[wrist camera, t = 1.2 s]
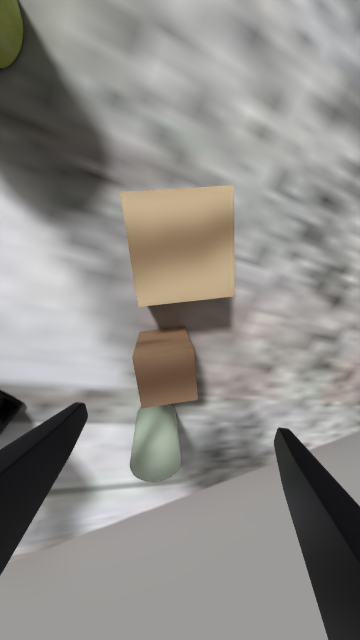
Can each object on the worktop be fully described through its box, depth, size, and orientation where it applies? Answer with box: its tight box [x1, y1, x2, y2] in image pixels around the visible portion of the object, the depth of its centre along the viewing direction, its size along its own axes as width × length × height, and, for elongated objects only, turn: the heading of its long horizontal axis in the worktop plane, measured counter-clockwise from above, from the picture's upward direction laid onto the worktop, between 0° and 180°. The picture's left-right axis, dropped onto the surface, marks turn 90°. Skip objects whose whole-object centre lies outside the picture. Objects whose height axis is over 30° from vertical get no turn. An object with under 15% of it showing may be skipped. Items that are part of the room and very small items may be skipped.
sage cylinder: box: [130, 404, 181, 482], centre depth 21 cm, size 5×5×6 cm
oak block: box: [120, 185, 234, 307], centre depth 16 cm, size 8×8×5 cm
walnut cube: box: [132, 327, 198, 408], centre depth 19 cm, size 5×5×6 cm
